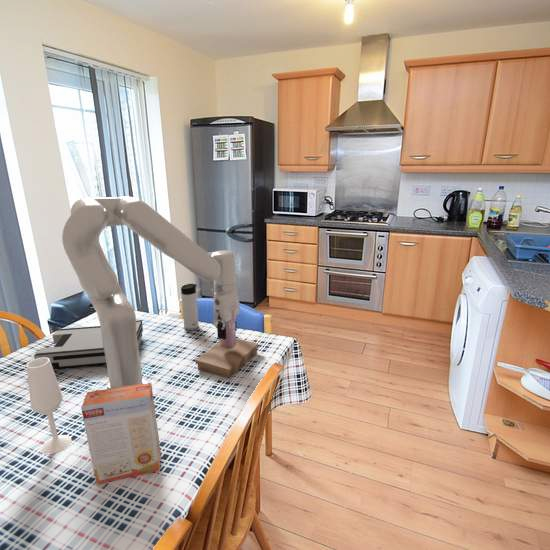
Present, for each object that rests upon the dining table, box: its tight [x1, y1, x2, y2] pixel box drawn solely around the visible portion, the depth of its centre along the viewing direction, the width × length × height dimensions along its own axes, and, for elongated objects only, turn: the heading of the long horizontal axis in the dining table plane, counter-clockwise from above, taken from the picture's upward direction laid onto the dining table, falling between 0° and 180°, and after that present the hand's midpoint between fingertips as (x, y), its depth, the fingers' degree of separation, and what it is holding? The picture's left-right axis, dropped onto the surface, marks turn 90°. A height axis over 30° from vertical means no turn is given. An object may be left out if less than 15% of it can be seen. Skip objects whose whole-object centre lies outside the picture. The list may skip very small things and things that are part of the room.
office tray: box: [33, 319, 144, 370], centre depth 137 cm, size 21×32×8 cm, turn 100°
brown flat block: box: [194, 337, 260, 380], centre depth 131 cm, size 20×14×4 cm
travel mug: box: [180, 283, 200, 332], centre depth 156 cm, size 6×7×20 cm
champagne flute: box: [25, 357, 72, 455], centre depth 90 cm, size 7×7×24 cm
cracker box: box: [80, 382, 162, 484], centre depth 83 cm, size 14×6×21 cm, turn 104°
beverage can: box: [218, 309, 237, 349], centre depth 128 cm, size 6×6×15 cm
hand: (227, 334), depth 129 cm, fingers closed on beverage can, 6 cm apart
